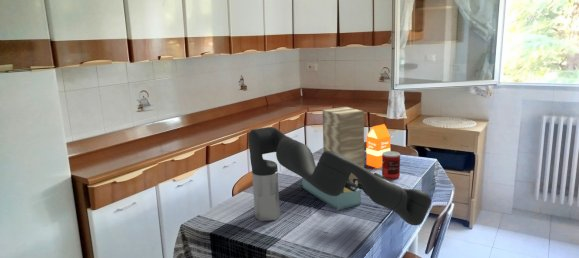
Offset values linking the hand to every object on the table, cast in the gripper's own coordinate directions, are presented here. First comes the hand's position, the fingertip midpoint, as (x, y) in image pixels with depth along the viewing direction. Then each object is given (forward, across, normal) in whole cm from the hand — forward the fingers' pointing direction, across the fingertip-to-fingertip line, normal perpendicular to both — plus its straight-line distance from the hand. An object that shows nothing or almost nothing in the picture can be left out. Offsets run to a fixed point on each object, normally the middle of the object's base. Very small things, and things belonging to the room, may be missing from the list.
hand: (352, 175), depth 153 cm
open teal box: (+16, 0, +13) cm, 21 cm away
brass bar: (+14, 0, +10) cm, 17 cm away
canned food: (+20, -35, +14) cm, 43 cm away
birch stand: (+28, -14, +13) cm, 34 cm away
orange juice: (+37, -41, +14) cm, 57 cm away
